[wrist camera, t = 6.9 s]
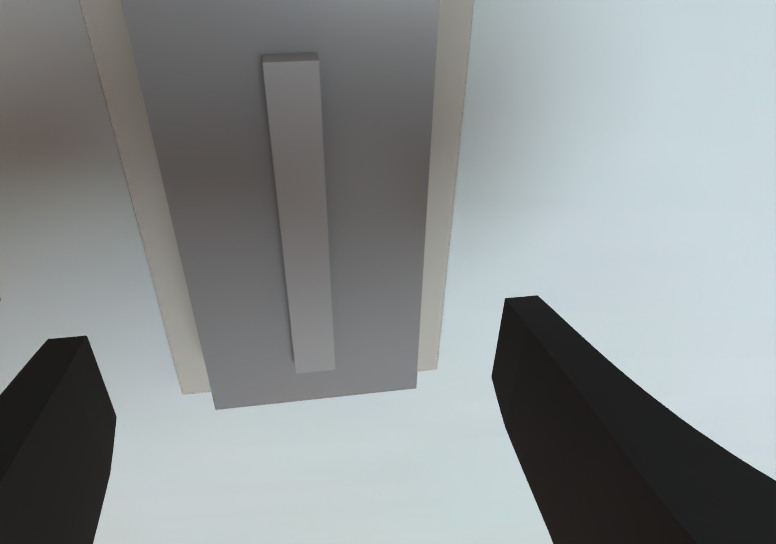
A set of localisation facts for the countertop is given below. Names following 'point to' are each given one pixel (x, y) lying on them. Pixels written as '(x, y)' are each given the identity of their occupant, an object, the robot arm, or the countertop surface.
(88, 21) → the mat
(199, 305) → the lid
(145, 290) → the countertop surface
